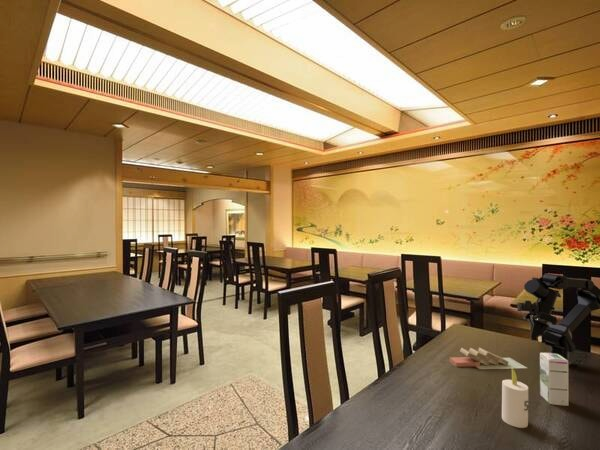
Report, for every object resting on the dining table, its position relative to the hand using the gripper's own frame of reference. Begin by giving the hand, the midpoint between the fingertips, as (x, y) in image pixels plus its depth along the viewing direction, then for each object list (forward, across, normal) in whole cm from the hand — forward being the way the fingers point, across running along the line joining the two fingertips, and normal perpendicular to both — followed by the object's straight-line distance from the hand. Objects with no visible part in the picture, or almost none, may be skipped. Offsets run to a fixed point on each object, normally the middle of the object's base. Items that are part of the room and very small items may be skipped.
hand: (532, 338), depth 129 cm
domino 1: (+18, +2, -15) cm, 24 cm away
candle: (+29, +39, -8) cm, 49 cm away
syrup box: (+18, +22, +5) cm, 29 cm away
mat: (+16, -2, -8) cm, 18 cm away
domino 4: (+13, -3, -6) cm, 15 cm away
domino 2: (+17, 0, -12) cm, 20 cm away
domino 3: (+15, -1, -9) cm, 17 cm away
